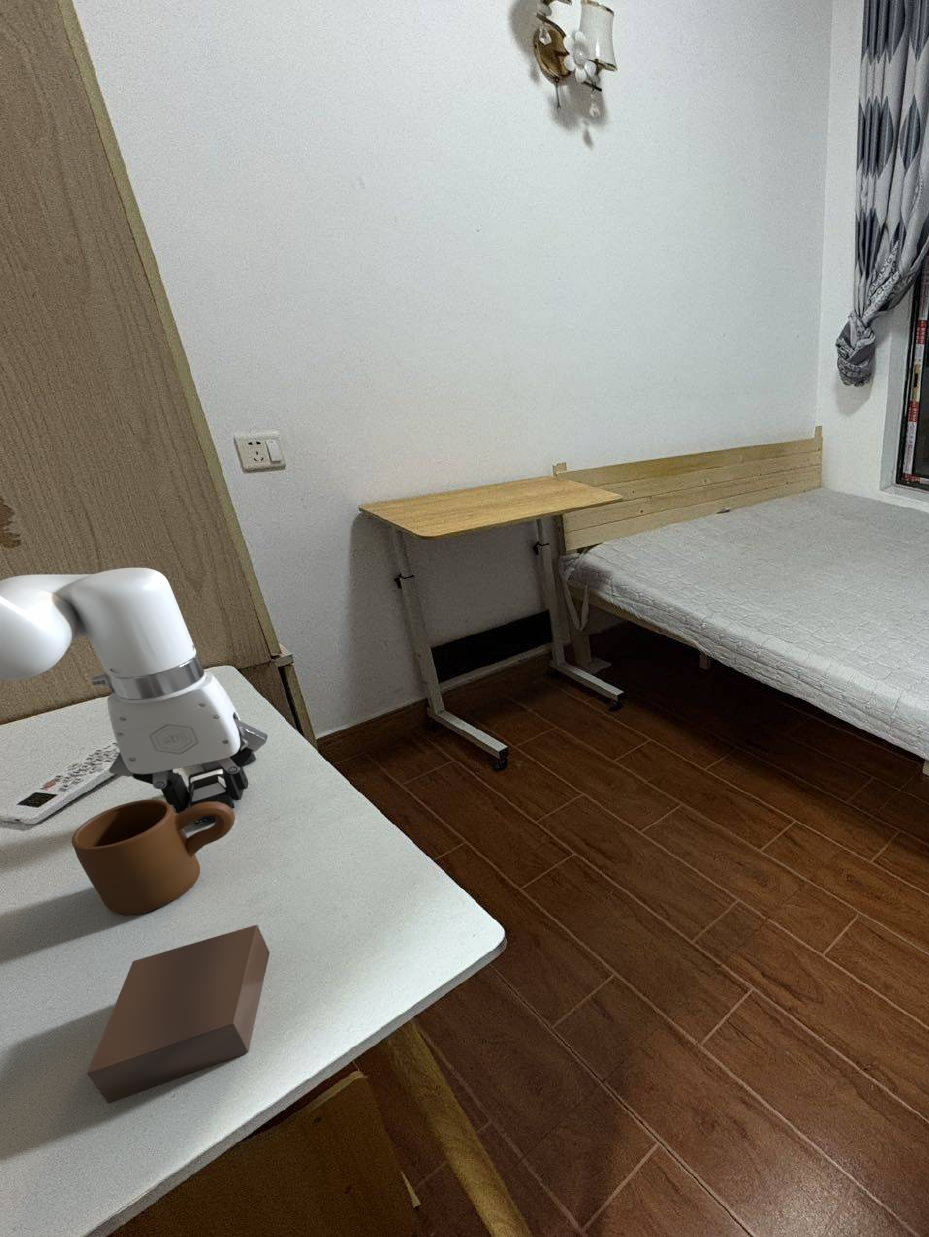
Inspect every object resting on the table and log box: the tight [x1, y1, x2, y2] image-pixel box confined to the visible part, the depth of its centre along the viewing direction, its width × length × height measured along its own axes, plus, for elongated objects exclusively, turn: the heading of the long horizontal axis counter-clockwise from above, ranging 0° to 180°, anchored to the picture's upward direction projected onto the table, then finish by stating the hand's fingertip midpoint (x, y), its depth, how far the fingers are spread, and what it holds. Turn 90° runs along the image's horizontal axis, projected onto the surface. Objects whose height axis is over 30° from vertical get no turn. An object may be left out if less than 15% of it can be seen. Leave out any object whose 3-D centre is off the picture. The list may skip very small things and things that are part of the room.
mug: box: [71, 798, 236, 916], centre depth 71 cm, size 12×8×9 cm, turn 124°
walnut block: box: [86, 924, 270, 1104], centre depth 59 cm, size 9×11×4 cm
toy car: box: [187, 766, 236, 826], centre depth 84 cm, size 10×4×3 cm, turn 41°
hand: (211, 798), depth 84 cm, fingers closed on toy car, 4 cm apart
